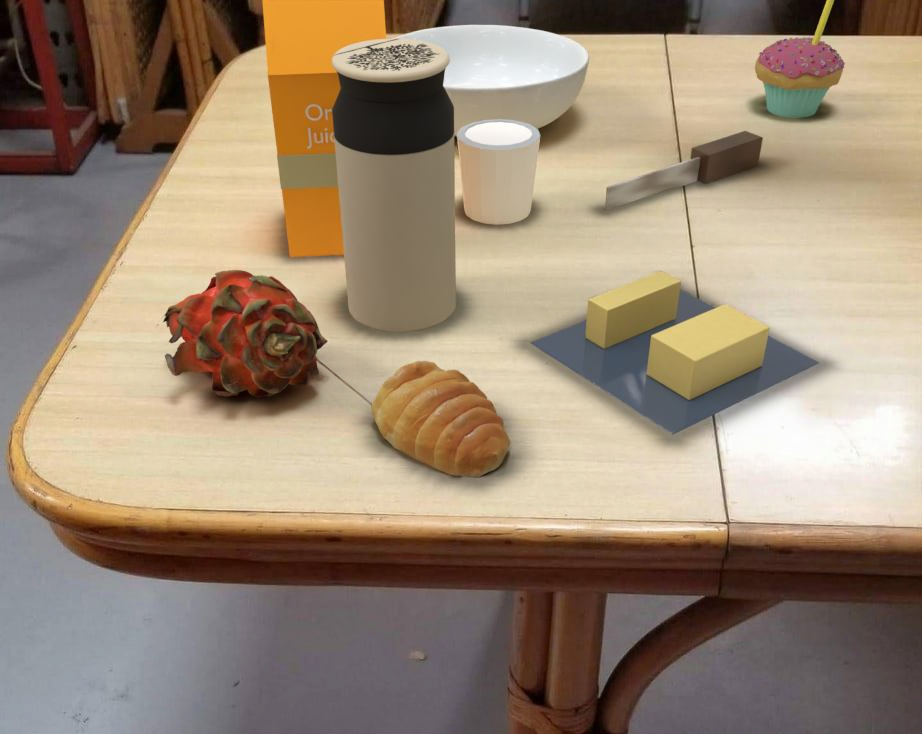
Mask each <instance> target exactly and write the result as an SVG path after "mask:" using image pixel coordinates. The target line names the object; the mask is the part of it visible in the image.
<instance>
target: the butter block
mask: <svg viewBox="0 0 922 734" xmlns="http://www.w3.org/2000/svg"><path fill="white" fill-rule="evenodd" d="M770 330H771V328H770V326H769V325H767V324H765V323H763V322H761V321H759V320H757V319H755V318H753V317H751V316H749V315H747V314H746V313H743V312H741V311H740V310H738V309H736V308H734V307H732V306H730V305H728V304H726V303H723V304H722V305H720V306H717V307H715V309H712V310H710V311H708V312H705V313H703V314H700V315H698V316H696V317H693V318H691V319H689V320H686V321H684V322H682V323H679V324H677V325H675V326H672V327H670V328H668V329H665V330H663V331H661V332H658V333H656V334H654V335H652V336H651V342H650V350H649V358H648V366H647V375H648V376H650V377H652V378H653V379H655V380H657V381H658V382H660V383H662V384H663V385H665V386H666V387H668V388H670V389H671V390H673V391H675V392H676V393H678V394H680V395H681V396H683V397H684V398H686V399H688V400H691V399H693V398H695V397H697V396H700V395H702V394H704V393H706V392H708V391H710V390H712V389H714V388H716V387H719V386H721V385H723V384H725V383H727V382H729V381H731V380H733V379H735V378H737V377H740V376H742V375H744V374H746V373H748V372H750V371H752V370H754V369H756V368H759V367H761V366H762V363H763V358H764V354H765V349H766V344H767V339H768V336H769V333H770Z"/></svg>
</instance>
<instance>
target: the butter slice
mask: <svg viewBox="0 0 922 734" xmlns="http://www.w3.org/2000/svg"><path fill="white" fill-rule="evenodd" d="M681 285H682V280H680V279H678V278H677V277H675V276H672V275H671V274H669V273H667V272H664V271H662V270H659V271H657V272H654V273H652V274H648V275H647V276H643V277H641V278H639V279H636V280H633V281H631V282H629V283H626V284H624V285H621V286H619V287H615V288H613V289H611V290H609V291H605V292H603V293H601V294H598V295H596V296H593V297H590V298H588V299H587V311H586V320H587V322H586V335H585V337H586V338H587V339H589V340H590V341H592V342H594V343H595V344H597V345H598V346H600V347H602V348H603V349H605V348H608V347H610V346H613V345H615V344H617V343H620V342H622V341H624V340H627V339H629V338H631V337H634V336H636V335H638V334H641V333H643V332H646V331H648V330H650V329H653V328H655V327H657V326H660V325H662V324H664V323H667V322H669V321H672V320H674V319H676V314H677V307H678V300H679V293H680V289H681Z"/></svg>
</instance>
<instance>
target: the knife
mask: <svg viewBox="0 0 922 734" xmlns="http://www.w3.org/2000/svg"><path fill="white" fill-rule="evenodd" d="M763 141H764V137H763V136H761V135H758V134H756V133H752V132H751V131H748V130H742V131H740V132H737V133H734V134H731V135H727V136H724V137H722V138H717V139H715V140H712V141H709V142H706V143H702V144H699V145H696V146H694V147H691V150H690V159H688V160H684V161H681V162H678V163H674V164H672V165H669V166H666V167H663V168H660V169H656V170H654V171H651V172H647V173H644V174H641V175H639V176H636V177H633V178H629V179H627V180H624V181H621V182H618V183H617V182H616V183H614V184H612V185H609V186H606V191H605V203H604V210H606V211H609V210H612V209H615V208H618V207H621V206H624V205H627V204H629V203H632V202H636V201H638V200H641V199H644V198H646V197H650V196H653V195H655V194H658V193H659V194H660V193H662V192H664V191H668V190H670V189H673V190H675V189H679V188H681V187H684V186H688V185H690V184H692V183H695V182H699V183H701V184H704V185H707V184H710V183H713V182H715V181H718V180H721V179H725V178H728V177H730V176H733V175H736V174H739V173H741V172H744V171H748V170H750V169H754V168H756V167H758V166H759V162H760V158H761V151H762V147H763Z"/></svg>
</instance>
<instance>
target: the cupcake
mask: <svg viewBox="0 0 922 734" xmlns="http://www.w3.org/2000/svg"><path fill="white" fill-rule="evenodd" d="M834 2H835V0H826V1H825V4H824V7H823V10H822V13H821V16H820V18H819V21H818V24H817V26H816V30H815V32H814V36H812V37H811V36H808V37H801V38H800V37H799V38H798V37H795V38H792V37H789V38H784V39H780V40H777V41H775V42H774V43H771V44H770V45H768V46H766V47H765V48H764V49H763V50H762V51H761V52H759V53H758V55H759V56H758V57H757V58H756V61H755V65H754V71H755V74H756V78H757V79H758V80H759V81H761V82H762V83H763V88H764V93H765V101H766V109H767V111H768V112H769V113H771V114H773V115H775V116H779V117H784V118H789V119H791V118H792V119H800V118H809V117H812V116H814V115H815V114H816V113H817V111H818V109H819V107H820V105H821V103H822V101H823V100H824V97H825V96H826V94H827V93H828V91H829V89H830V88H831V87H833V86H836V85H838V84H839V82H840V81H841V78H842V75H843V72H844V68H845V64H846V62H845V61H844V59H842V56H840V53H838V50H837V49H835V48H833V47H832V46H831V45H830V44H827V43H826V41H825V40H821V39H822V36H823V33H824V31H825V27H826V25H827V22H828V18H829V16H830V13H831V10H832V8H833V5H834Z"/></svg>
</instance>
